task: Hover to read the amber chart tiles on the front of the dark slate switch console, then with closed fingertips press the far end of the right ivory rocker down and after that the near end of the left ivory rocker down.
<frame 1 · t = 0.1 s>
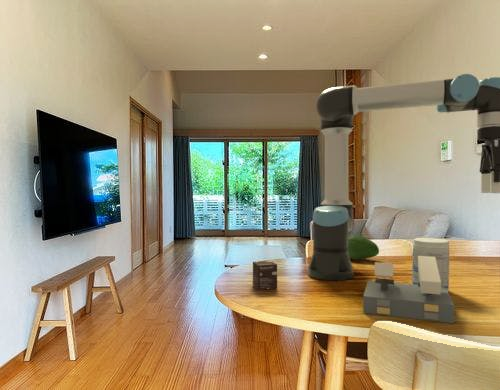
hand: (490, 193, 119), 28 cm above the table, fingers open, 13 cm apart
fruit: (360, 260, 153), on the table
switch left: (384, 270, 93), point 9 cm above the table, hinge at -14.0°
switch right: (428, 273, 89), point 9 cm above the table, hinge at 14.0°
console: (405, 307, 91), on the table
supplement tub: (430, 290, 106), on the table
box: (264, 287, 110), on the table
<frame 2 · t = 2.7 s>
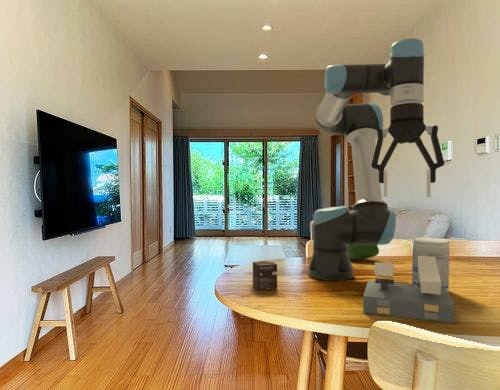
hand: (406, 196, 90), 27 cm above the table, fingers open, 9 cm apart
nothing on the table moved.
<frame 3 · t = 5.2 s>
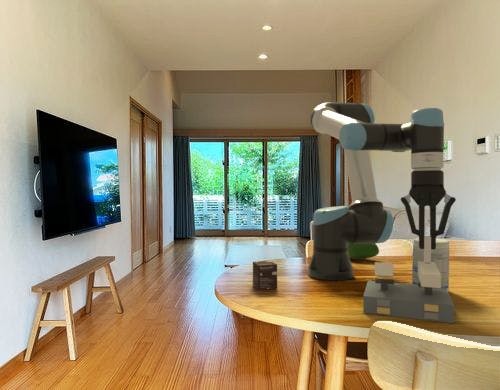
hand: (427, 261, 94), 11 cm above the table, fingers closed
switch right: (428, 273, 89), point 9 cm above the table, hinge at 0.8°, touching gripper
everything else where it was.
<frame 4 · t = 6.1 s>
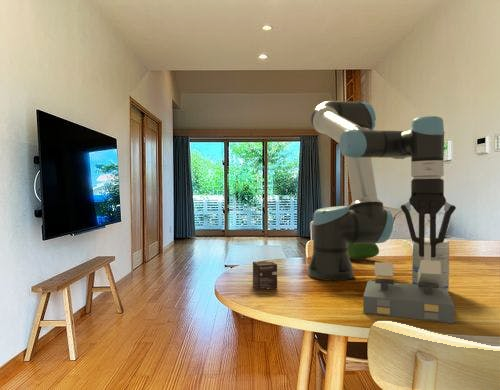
hand: (427, 269, 95), 9 cm above the table, fingers closed
switch right: (428, 273, 89), point 9 cm above the table, hinge at -24.1°, touching gripper
everything else where it was.
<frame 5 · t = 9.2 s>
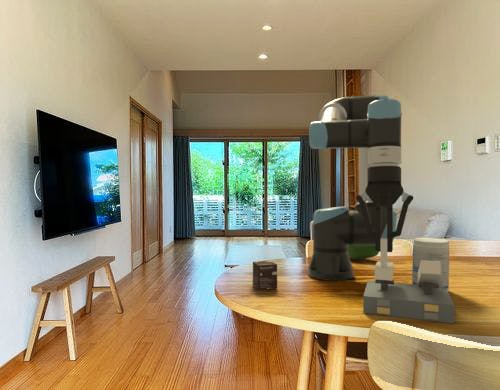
hand: (384, 265, 87), 11 cm above the table, fingers closed
switch left: (384, 270, 93), point 9 cm above the table, hinge at -5.6°, touching gripper
switch right: (428, 273, 89), point 9 cm above the table, hinge at -23.9°
everything else where it was.
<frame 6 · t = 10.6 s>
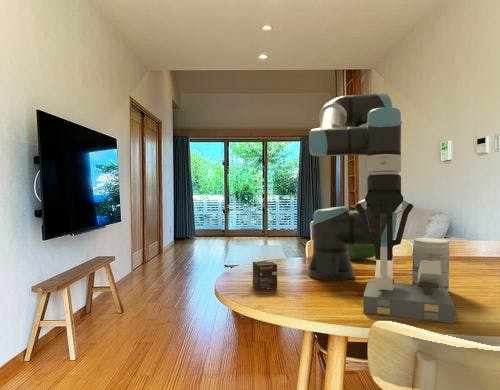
hand: (383, 274, 86), 9 cm above the table, fingers closed
switch left: (384, 270, 93), point 9 cm above the table, hinge at 14.5°, touching gripper
everything else where it was.
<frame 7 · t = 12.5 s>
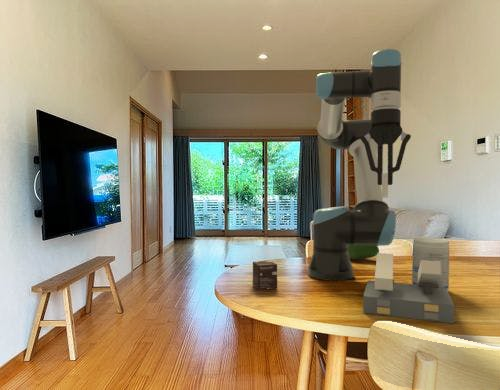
hand: (384, 197, 100), 27 cm above the table, fingers closed
switch left: (384, 270, 93), point 9 cm above the table, hinge at 15.1°
everything else where it was.
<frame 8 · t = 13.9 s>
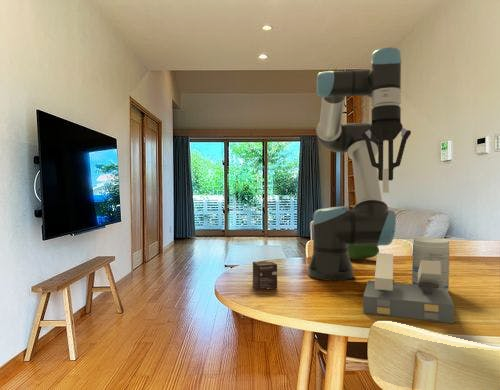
hand: (385, 192, 101), 28 cm above the table, fingers closed
nothing on the table moved.
at the end: switch left at +15° (first picture: -14°); switch right at -24° (first picture: +14°) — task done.
